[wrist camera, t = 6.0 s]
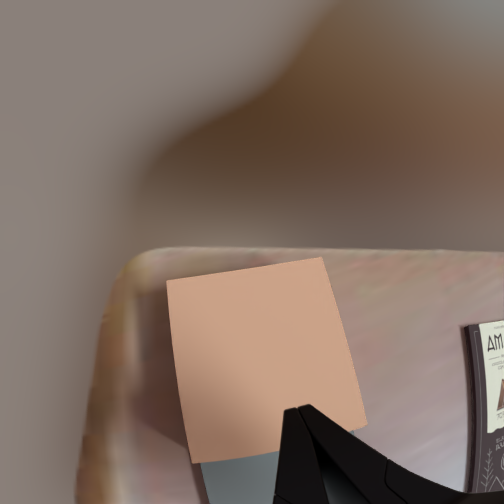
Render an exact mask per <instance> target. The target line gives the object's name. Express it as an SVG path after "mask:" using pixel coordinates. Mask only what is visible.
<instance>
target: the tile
mask: <svg viewBox="0 0 504 504" xmlns="http://www.w3.org/2000/svg"><path fill="white" fill-rule="evenodd" d="M167 294H168V306H169V317H170V327H171V336H172V345H173V353H174V361H175V368H176V376H177V383H178V389H179V396H180V402H181V408H182V414H183V420H184V425H185V431H186V436H187V441H188V446H189V451H190V456H191V461H192V463H203V462H213V461H222V460H229V459H236V458H243V457H249V456H255V455H260V454H266V453H271V452H276V451H279V449H280V440H281V431H282V421H283V412H284V410H285V409H288V408H293V407H296V408H297V407H298V406H301V405H305V404H311V405H312V406H314V407H315V408H316V409H318V410H319V411H320V412H322V413H323V414H324V415H326V416H327V417H329V418H330V419H331V420H333V421H334V422H335V423H337V424H338V425H340V426H341V427H342V428H344V429H345V430H347V431H348V432H349V431H352V430H355V429H358V428H361V427H364V426H366V425H368V424H367V420H366V415H365V411H364V407H363V402H362V398H361V394H360V390H359V386H358V382H357V378H356V374H355V370H354V366H353V362H352V358H351V354H350V351H349V347H348V343H347V340H346V336H345V332H344V329H343V325H342V322H341V318H340V315H339V311H338V308H337V305H336V301H335V298H334V295H333V291H332V288H331V285H330V282H329V278H328V275H327V272H326V269H325V266H324V263H323V260H322V257H318V258H312V259H305V260H299V261H293V262H287V263H280V264H274V265H267V266H261V267H255V268H248V269H241V270H235V271H228V272H222V273H215V274H208V275H201V276H194V277H188V278H181V279H174V280H167Z"/></svg>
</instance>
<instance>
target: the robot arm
mask: <svg viewBox="0 0 504 504" xmlns="http://www.w3.org/2000/svg"><path fill="white" fill-rule="evenodd" d="M272 504H504V490H500V491H492V492H482V493H465V492H460V491H456V490H453V489H451V488H448V487H445V486H443V485H440V484H438V483H435V482H433V481H430V480H428V479H425V478H423V477H421V476H419V475H417V474H414V473H412V472H410V471H408V470H407V469H405V468H403V467H401V466H400V465H398V464H396V463H395V462H393V461H392V460H390V459H388V460H387V457H385V456H384V455H382V454H381V453H379V452H378V451H376V450H375V449H373V448H372V447H370V446H369V445H367V444H366V443H364V442H363V441H361V440H360V439H358V438H357V437H355V436H354V435H352V434H351V433H350V432H348V431H347V430H345V429H344V428H342V427H341V426H340V425H338V424H337V423H335V422H334V421H333V420H331V419H330V418H329V417H327V416H326V415H324V414H323V413H322V412H320V411H319V410H318V409H316V408H315V407H314V406H312V405H311V404H305V405H301V406H298V407H297V408H296V407H293V408H288V409H285V410H284V412H283V421H282V431H281V440H280V449H279V458H278V466H277V474H276V482H275V489H274V496H273V503H272Z"/></svg>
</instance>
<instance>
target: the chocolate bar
mask: <svg viewBox="0 0 504 504" xmlns="http://www.w3.org/2000/svg"><path fill="white" fill-rule="evenodd" d="M464 329H465V335H466V342H467V350H468V358H469V368H470V379H471V395H472V451H471V466H470V477H469V486H468V493H482V492H492V491H500V490H504V320H503V321H497V322H490V323H484V324H476V325H468V326H466V327H465V328H464Z"/></svg>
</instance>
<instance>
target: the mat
mask: <svg viewBox="0 0 504 504" xmlns="http://www.w3.org/2000/svg"><path fill="white" fill-rule="evenodd" d="M349 432H350V433H351V434H352V435H354V431H353V430H352V431H349ZM278 458H279V451H276V452H271V453H266V454H260V455H255V456H249V457H243V458H236V459H229V460H222V461H213V462H203V463H200V465H201V470H202V474H203V478H204V483H205V487H206V491H207V495H208V499H209V503H210V504H272V503H273V496H274V489H275V482H276V474H277V466H278Z"/></svg>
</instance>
